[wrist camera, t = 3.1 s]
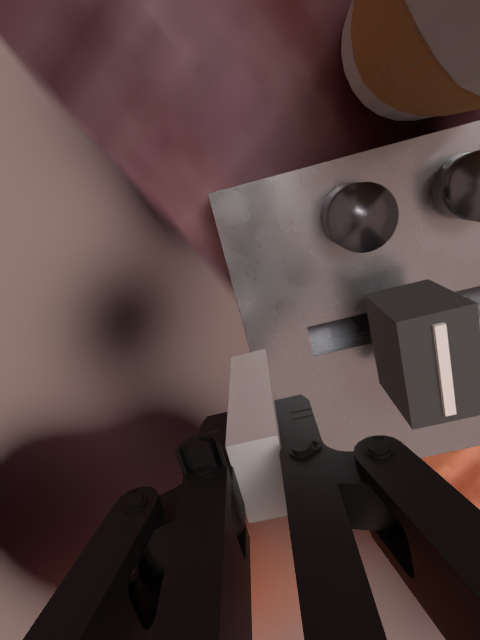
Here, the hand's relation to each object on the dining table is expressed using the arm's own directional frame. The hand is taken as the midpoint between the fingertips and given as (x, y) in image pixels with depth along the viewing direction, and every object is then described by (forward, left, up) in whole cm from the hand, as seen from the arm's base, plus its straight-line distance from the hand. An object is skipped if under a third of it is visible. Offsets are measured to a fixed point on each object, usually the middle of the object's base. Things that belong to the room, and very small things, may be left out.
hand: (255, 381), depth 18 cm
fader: (0, +7, -5) cm, 9 cm away
